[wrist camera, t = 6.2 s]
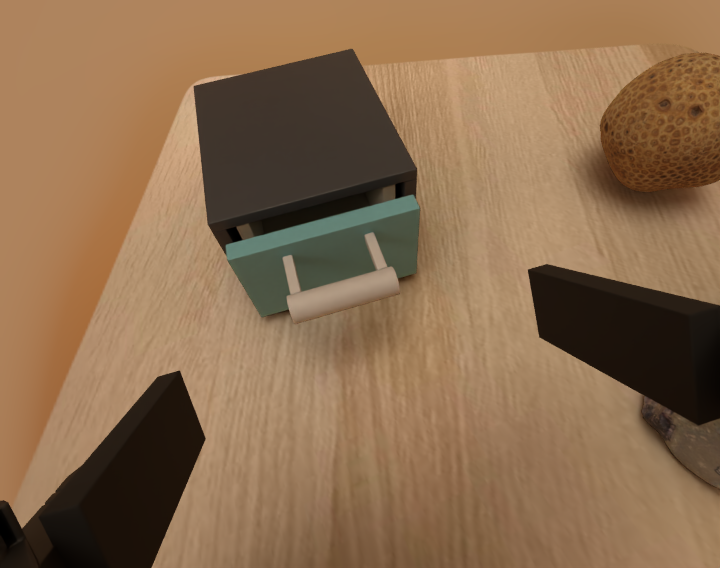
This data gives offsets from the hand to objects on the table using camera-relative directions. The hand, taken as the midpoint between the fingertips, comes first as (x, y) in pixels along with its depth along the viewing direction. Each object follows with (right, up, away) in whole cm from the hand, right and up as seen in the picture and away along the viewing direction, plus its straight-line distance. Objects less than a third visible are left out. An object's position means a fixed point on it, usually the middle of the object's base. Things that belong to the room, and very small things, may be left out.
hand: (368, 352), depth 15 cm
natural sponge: (+22, +11, +19) cm, 31 cm away
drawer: (-3, +5, +17) cm, 18 cm away
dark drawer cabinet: (-4, +9, +20) cm, 22 cm away
